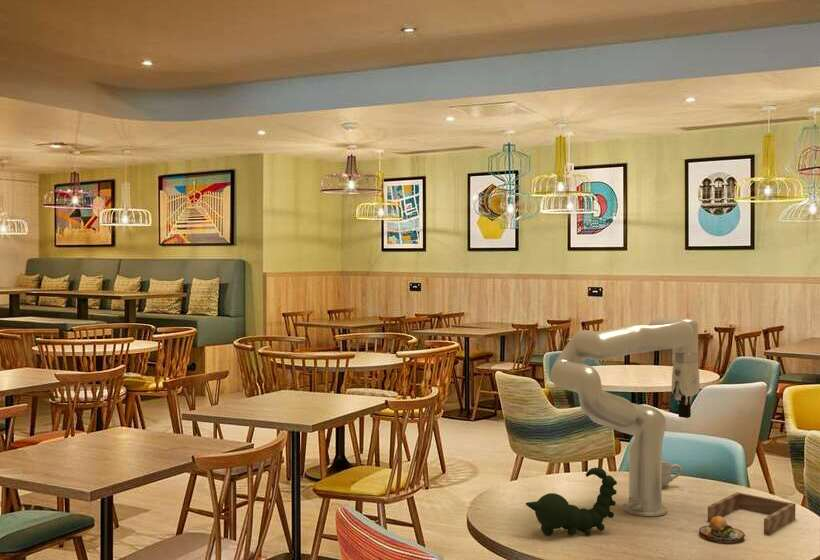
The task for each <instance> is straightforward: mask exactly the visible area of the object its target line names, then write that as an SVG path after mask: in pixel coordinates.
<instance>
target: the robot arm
mask: <svg viewBox="0 0 820 560" xmlns="http://www.w3.org/2000/svg"><path fill="white" fill-rule="evenodd" d="M665 350H672V363H673V365H672V372H671V373H672V374H671V394H673V395H674V400H676V401H677V405H678V417H679V418H683V419H684V418H685V419H689V418H691V415H692V411H691V410H692V409H691V408H692V401H693V400H692V399H693V397H694V396H695V395H697V394H699V393H700V391H701V390H700V385H701V384H700V369H699V322H698V320H697V319H695V318H689V317H680V318H663V317H659V318H658V317H657V318H656V319H655V318H654V319H653V320H651V321H650V322H649V324H648V325H647V324H645V325H644V324H629V325H622V326H620V327H619V326H618V327H615V328H614V327H613V328H610V329H609V328H608V329H604V330H601V331H597V330H588V329H582V330H581V329H580V330H578V331H577V333H575V334H574V335H573V336H572V337H571V339H570V340H569V341H568V343H566V345H565V346H564V348H563V349H562V351H561V352H560V354H559V355H558V357H557V359H556V360H555V362H554V363H553V365H552V367H551V370H550V379H551V382H552V383H553V385H554V386H555V387H557V388H558V389H561V390H565V391H569V392H574V393H577V394H578V395H577V396H578V401H579V405H580V409H581V411H582V413H584V414H585V415H586V416H587V417H589V419H590V420H591V421H592V422H594V423H595V424H597V425H601V426H604V427H605V428H609V429H612V430H615V431H617V432H620V433H624V434H627V435H630V436H634V439H633V441H632V442H631V445H630V447H629V450H628V451H629V453H628V458H629V459H628V463H629V464H628V468H629V469H628V472H629V473H628V501H627V502H625V503H623V504H622V508H623V510H624V511H625V512H626V513H629V514H631V515H636V516H640V517H660V516H663V515H666V514H667V511H668V509H667V506H665V505H664V504H662V498H663V497H662V494H663V493H662V490H663V487H662V461H663V458H662V457H663V441H664V437H665V431H666V427H667V425H666V423H667V422H666V418H665V416H664V415H663V414H664V413H662V412H661V411H660V410H659V409H657V408H654V407H651V406H648V405H644V404H639V403H632V402H631V401H630V400H628V399H626V398H625V397H622V396H620V395H617V394H613V393H610V392H608V391H606V390H604V389H603V386H602V381H601V376H600V374H599V372H598V371H597V369H595V368H594V367H593V366H592V365H590V364H585V361H586V359H587V360H592V361H593V360H594V361H598V362H599V361H600V362H601V361H603V362H604V361H608V360H612V359H616V358H620V357H624V356H627V355H633V354H640V353H650V352H656V351H665Z"/></svg>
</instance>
